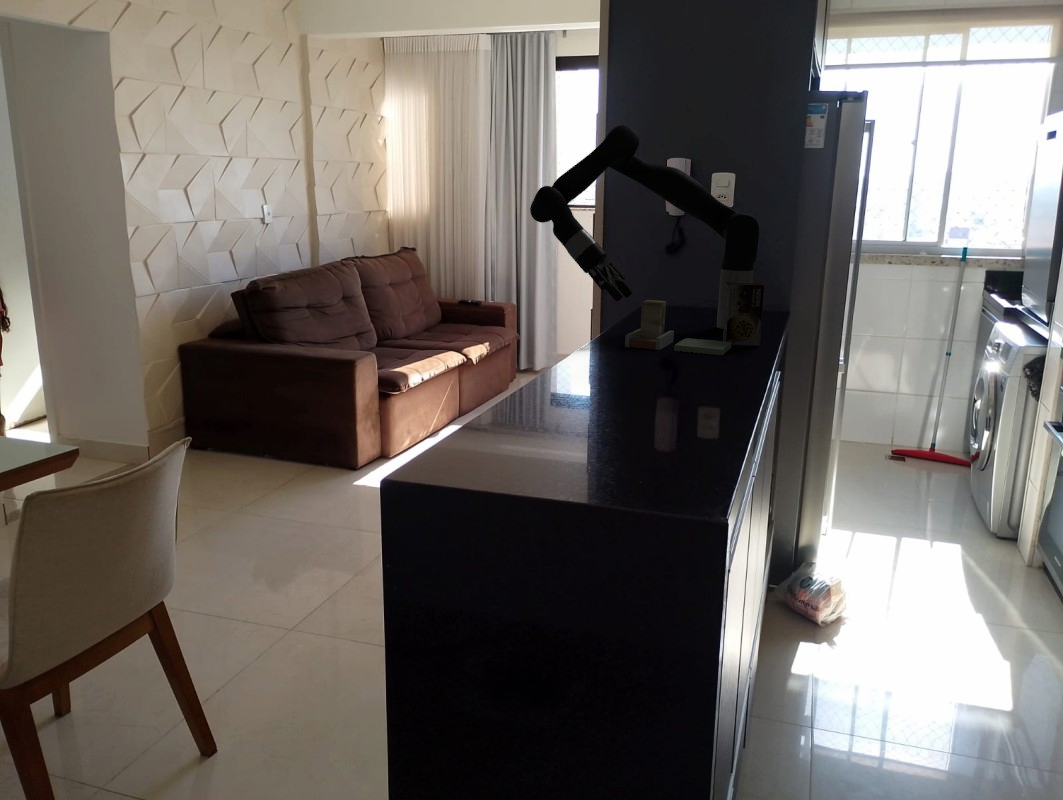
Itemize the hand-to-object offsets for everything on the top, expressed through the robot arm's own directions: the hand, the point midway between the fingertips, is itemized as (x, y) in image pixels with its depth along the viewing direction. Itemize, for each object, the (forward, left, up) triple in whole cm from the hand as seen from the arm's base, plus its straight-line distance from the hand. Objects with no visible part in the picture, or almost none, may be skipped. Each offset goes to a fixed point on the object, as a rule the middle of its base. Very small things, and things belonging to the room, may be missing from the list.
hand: (625, 297), depth 226 cm
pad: (+2, +22, -11) cm, 25 cm away
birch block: (0, +8, -12) cm, 14 cm away
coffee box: (-12, +29, -12) cm, 33 cm away
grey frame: (+2, +8, -11) cm, 14 cm away
